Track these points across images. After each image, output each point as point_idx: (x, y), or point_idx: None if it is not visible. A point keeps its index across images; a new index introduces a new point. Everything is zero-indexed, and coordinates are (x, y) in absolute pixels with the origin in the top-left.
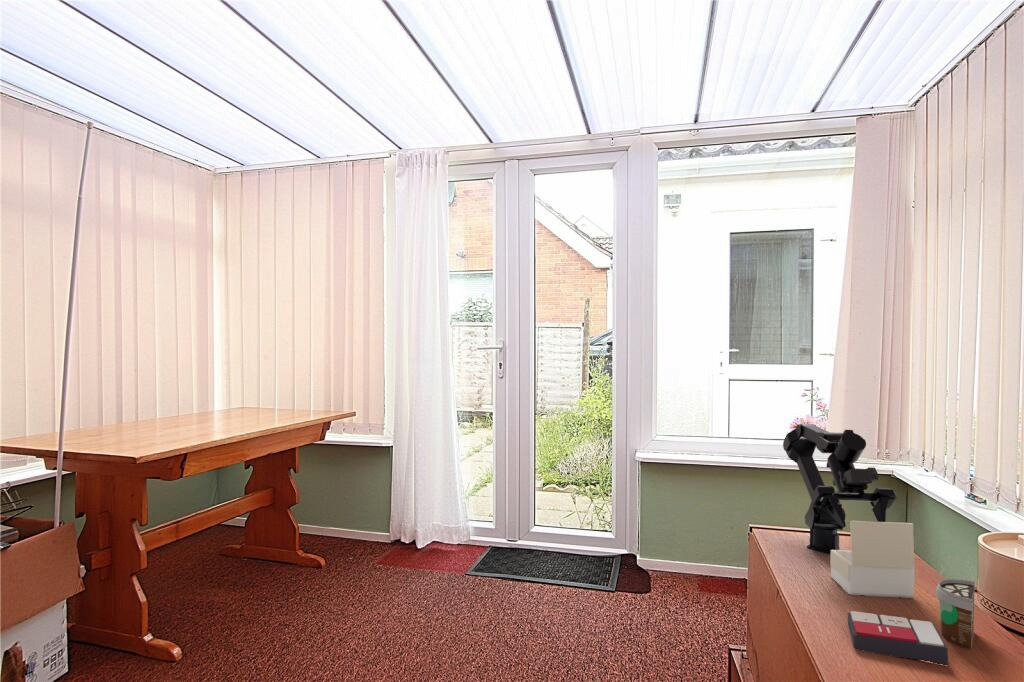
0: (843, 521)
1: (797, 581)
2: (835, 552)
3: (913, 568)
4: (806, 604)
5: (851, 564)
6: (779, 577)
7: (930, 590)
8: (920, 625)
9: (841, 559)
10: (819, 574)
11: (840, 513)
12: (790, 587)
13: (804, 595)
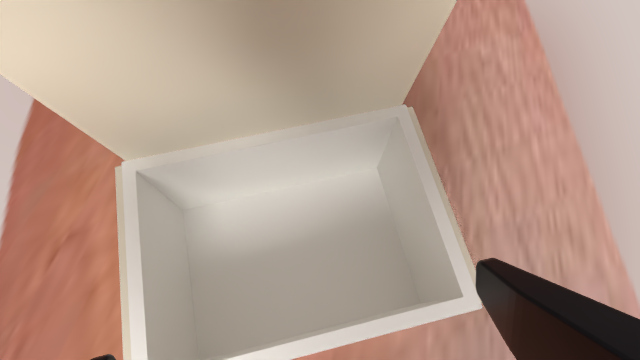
0: (516, 275)
1: (547, 224)
2: (462, 264)
3: (126, 163)
4: (504, 54)
5: (401, 102)
6: (613, 242)
7: (68, 316)
8: None
9: (436, 173)
10: (474, 342)
11: (607, 332)
12: (561, 160)
13: (514, 111)
